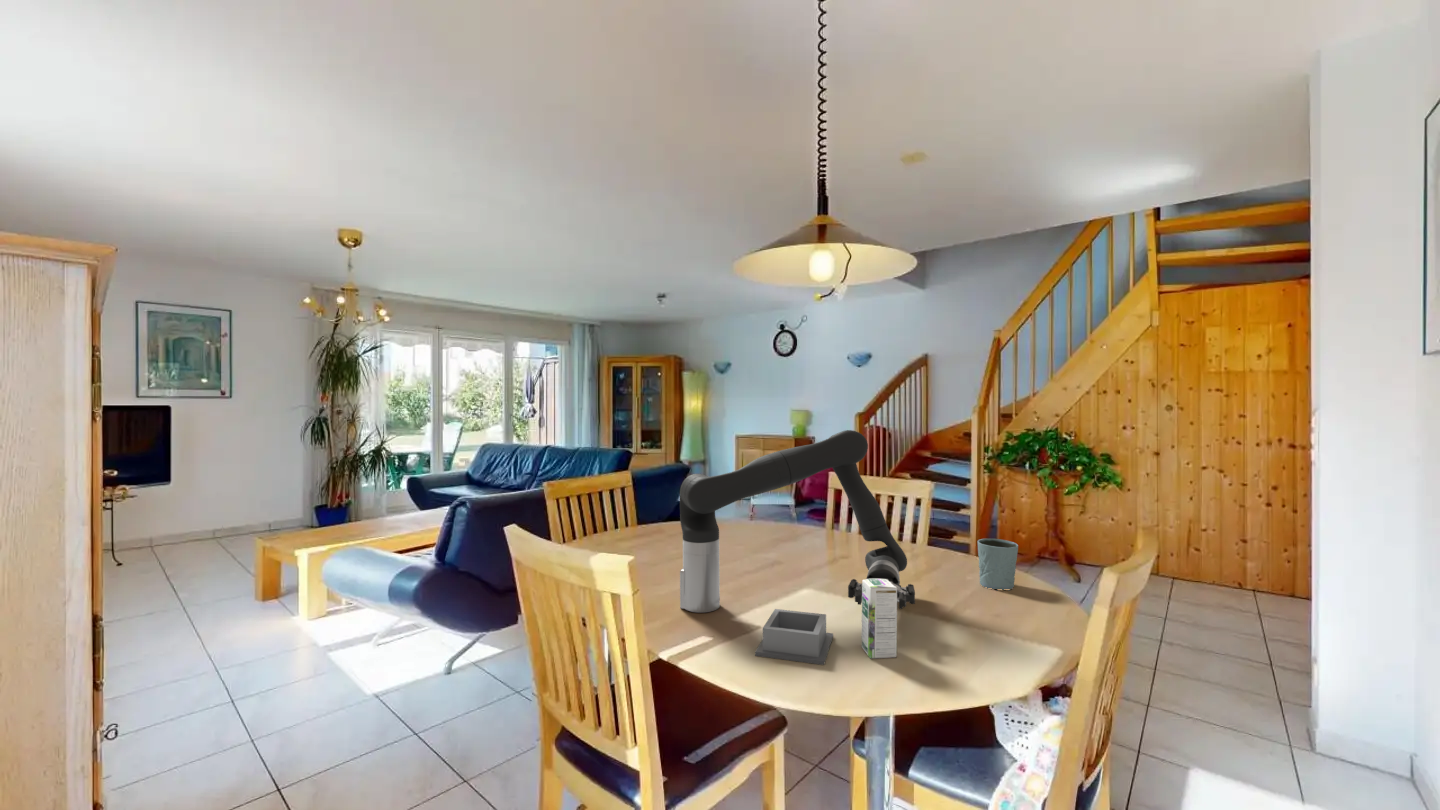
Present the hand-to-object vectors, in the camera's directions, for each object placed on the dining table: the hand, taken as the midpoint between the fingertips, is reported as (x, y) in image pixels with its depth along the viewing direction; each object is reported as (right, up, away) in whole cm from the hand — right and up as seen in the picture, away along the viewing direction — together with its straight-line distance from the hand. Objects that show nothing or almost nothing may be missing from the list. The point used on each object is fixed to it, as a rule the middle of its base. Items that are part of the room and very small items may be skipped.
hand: (879, 602), depth 124 cm
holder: (-18, -9, 0) cm, 20 cm away
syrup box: (-1, -9, -4) cm, 10 cm away
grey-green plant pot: (+43, -8, +38) cm, 58 cm away
